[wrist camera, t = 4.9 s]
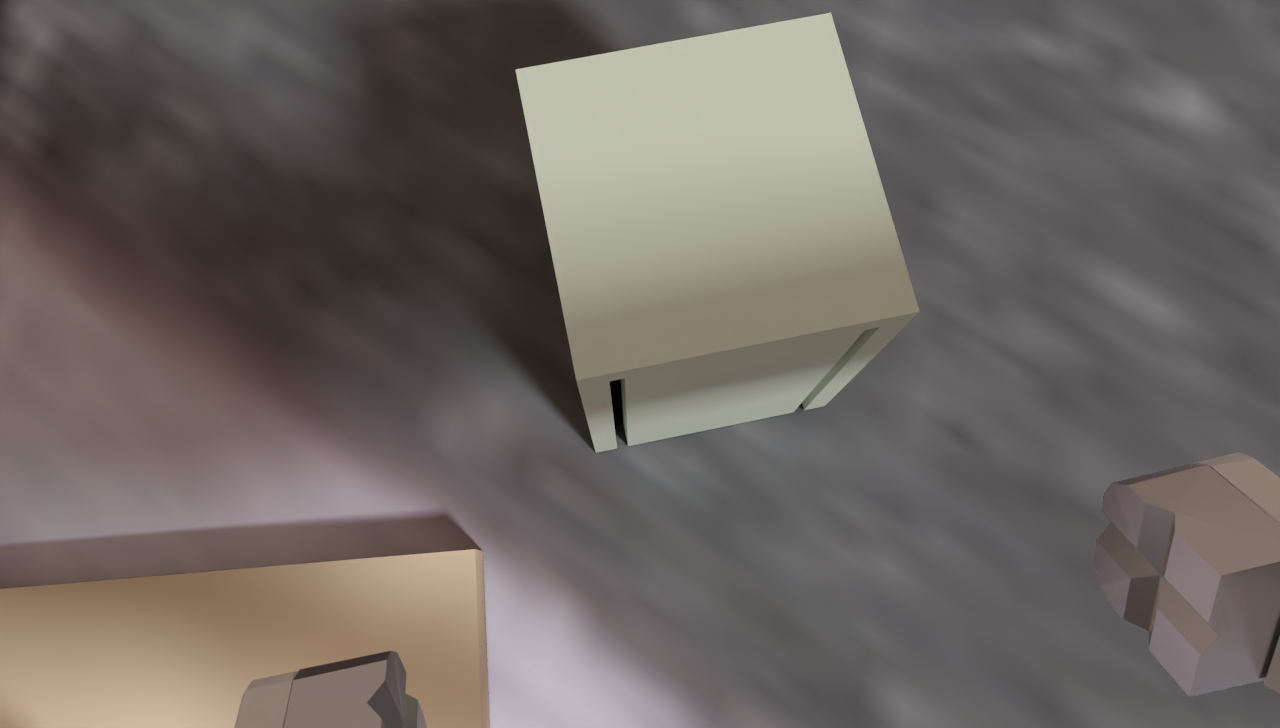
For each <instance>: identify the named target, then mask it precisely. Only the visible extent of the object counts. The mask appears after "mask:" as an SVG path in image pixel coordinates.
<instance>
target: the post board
mask: <svg viewBox="0 0 1280 728" xmlns="http://www.w3.org/2000/svg"><path fill="white" fill-rule="evenodd" d="M387 651H394V652H397V653H398V655H399V657H400V659H401V662H402V664H403V666H404V668H405V670H406V672H407V674H406V694H408V695H409V696H411V697H413V698H415V699H417V700H418V702H419V704H420V707H421V709H422V712H423V714H424V718H425V722H426V726H427V728H490V719H489V694H488V668H487V643H486V618H485V592H484V567H483V551H480V550H477V549H470V550H458V551H446V552H435V553H423V554H411V555H399V556H387V557H375V558H363V559H351V560H339V561H327V562H315V563H303V564H291V565H279V566H267V567H256V568H244V569H232V570H220V571H208V572H196V573H184V574H172V575H160V576H148V577H136V578H124V579H112V580H100V581H88V582H77V583H65V584H53V585H41V586H29V587H17V588H5V589H0V728H234V727H235V723H236V719H237V715H238V711H239V707H240V703H241V699H242V695H243V693H244V692H245V690H246V689H247V687H248V686H249V684H250V683H251V682H252V680H255V679H260V678H265V677H270V676H275V675H280V674H285V673H290V672H295V671H299V670H300V669H304V668H309V667H314V666H319V665H324V664H329V663H333V662H338V661H343V660H348V659H353V658H358V657H363V656H367V655H372V654H377V653H382V652H387Z"/></svg>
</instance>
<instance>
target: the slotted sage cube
mask: <svg viewBox="0 0 1280 728" xmlns="http://www.w3.org/2000/svg"><path fill="white" fill-rule="evenodd" d="M515 70H516V75H517V80H518V85H519V90H520V96H521V101H522V106H523V111H524V116H525V121H526V126H527V131H528V136H529V142H530V147H531V152H532V157H533V162H534V167H535V172H536V177H537V182H538V188H539V193H540V198H541V203H542V208H543V213H544V218H545V223H546V228H547V234H548V239H549V244H550V249H551V254H552V259H553V264H554V269H555V274H556V280H557V285H558V290H559V295H560V300H561V305H562V310H563V315H564V320H565V326H566V331H567V336H568V341H569V346H570V351H571V356H572V361H573V366H574V372H575V377H576V381H577V385H578V389H579V393H580V396H581V400H582V404H583V407H584V411H585V415H586V419H587V422H588V426H589V430H590V434H591V437H592V441H593V445H594V448H595V452H596V453H597V452H602V451H607V450H612V449H617V443H616V434H615V425H614V416H613V408H612V399H611V390H610V381H614V380H619V379H621V392H622V408H623V425H624V430H625V435H626V440H627V444H628V446H632V445H636V444H641V443H646V442H651V441H656V440H661V439H666V438H671V437H676V436H680V435H685V434H690V433H695V432H700V431H705V430H710V429H715V428H719V427H724V426H729V425H734V424H739V423H744V422H749V421H754V420H759V419H763V418H768V417H773V416H778V415H783V414H788V413H793V412H794V411H795V410H796V409H797V408H798V406H799V405H800V404H801V403H802V405H803V409H804V410H807V409H812V408H817V407H822V406H825V405H826V404H827V403H828V402H829V401H830V400H831V399H832V398H833V397H834V396H835V395H836V394H837V393H838V392H839V391H840V390H841V389H842V388H843V387H844V386H845V385H846V384H847V383H848V382H849V381H850V380H851V379H852V378H853V377H854V376H855V375H856V374H857V373H858V372H859V371H860V370H861V369H862V368H863V367H864V366H865V365H866V364H867V363H868V362H869V361H870V360H871V359H872V358H873V357H874V356H875V355H876V354H878V353H879V352H880V351H881V350H882V349H883V348H884V347H885V346H886V345H887V344H888V343H889V342H890V341H891V340H892V339H893V338H894V337H895V336H896V335H897V334H898V333H899V332H900V331H901V330H902V329H903V328H904V327H905V326H906V325H907V324H908V323H909V322H910V321H911V320H912V319H913V318H914V317H915V316H916V315H917V314H918V313H919V308H918V305H917V301H916V298H915V295H914V291H913V288H912V285H911V281H910V278H909V274H908V271H907V268H906V264H905V261H904V258H903V254H902V251H901V248H900V244H899V241H898V237H897V234H896V231H895V227H894V224H893V221H892V217H891V214H890V210H889V207H888V204H887V200H886V197H885V194H884V190H883V187H882V184H881V180H880V177H879V173H878V170H877V167H876V163H875V160H874V157H873V153H872V150H871V146H870V143H869V140H868V136H867V133H866V130H865V126H864V123H863V120H862V116H861V113H860V109H859V106H858V103H857V99H856V96H855V93H854V89H853V86H852V82H851V79H850V76H849V72H848V69H847V66H846V62H845V59H844V56H843V52H842V49H841V45H840V42H839V39H838V35H837V32H836V29H835V25H834V22H833V18H832V15H831V13H827V14H821V15H816V16H810V17H805V18H799V19H794V20H788V21H783V22H777V23H771V24H766V25H760V26H755V27H749V28H744V29H738V30H732V31H727V32H721V33H716V34H710V35H705V36H699V37H693V38H688V39H682V40H677V41H671V42H666V43H660V44H654V45H649V46H643V47H638V48H632V49H627V50H621V51H616V52H610V53H604V54H599V55H593V56H588V57H582V58H577V59H571V60H565V61H560V62H554V63H549V64H543V65H538V66H532V67H526V68H521V69H515Z"/></svg>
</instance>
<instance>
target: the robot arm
mask: <svg viewBox="0 0 1280 728" xmlns="http://www.w3.org/2000/svg"><path fill="white" fill-rule="evenodd" d="M1101 511H1102V512H1103V513H1104V514H1105V516H1106V517H1107V518H1108V519H1109V520H1110V521H1111V523H1110V524H1109V525H1108V526H1107V528H1106V529H1105V530H1104V531H1103V532H1102V534H1101V535H1100V536H1099V537H1098V538H1097V540H1096V546H1095V556H1094V565H1095V568H1096V572H1097V576H1098V580H1099V584H1100V586H1101V588H1102V590H1103V592H1104V594H1105V595H1106V597H1107V599H1108V601H1109V603H1110V604H1111V605H1112V606H1113V607H1114V609H1115V610H1116V611H1117V612H1118V614H1119V615H1120V616H1121V617H1122V618H1123V619H1124V620H1126V621H1128V622H1130V623H1132V624H1135V625H1137V626H1139V627H1141V628H1143V629H1145V630H1147V631H1149V650H1150V652H1151V653H1152V654H1153V655H1154V656H1155V657H1156V659H1157V660H1158V661H1159V662H1160V663H1161V664H1162V666H1163V667H1164V668H1165V669H1166V670H1167V671H1168V673H1169V674H1170V675H1171V676H1172V677H1173V678H1174V680H1175V681H1176V682H1177V683H1178V684H1179V685H1180V687H1181V688H1182V689H1183V690H1184V691H1185V692H1186V694H1187V695H1188V696H1189V697H1191V696H1195V695H1200V694H1204V693H1209V692H1213V691H1218V690H1222V689H1227V688H1231V687H1236V686H1241V685H1245V684H1250V683H1254V682H1259V681H1263V680H1265V682H1264V685H1266V686H1267V687H1269V688H1271V689H1273V690H1274V691H1276V692H1278V693H1280V478H1279V477H1278V476H1276V475H1275V474H1274V473H1272V472H1271V471H1270V470H1269V469H1267V468H1266V467H1265V466H1263V465H1262V464H1261V463H1260V462H1258V461H1257V460H1256V459H1254V458H1253V457H1250V456H1248V455H1244V454H1241V453H1234V454H1230V455H1225V456H1221V457H1217V458H1213V459H1209V460H1205V461H1201V462H1197V463H1195V464H1188V465H1184V466H1180V467H1176V468H1172V469H1168V470H1163V471H1159V472H1155V473H1151V474H1147V475H1143V476H1139V477H1135V478H1130V479H1126V480H1122V481H1118V482H1114V483H1111V485H1110V486H1109V487H1108V489H1107V490H1106V491H1105V493H1104V496H1103V502H1102V507H1101ZM406 674H407V672H406V670H405V668H404V666H403V664H402V662H401V659H400V657H399V655H398V653H397V652H394V651H387V652H382V653H377V654H372V655H367V656H363V657H358V658H353V659H348V660H343V661H338V662H333V663H329V664H324V665H319V666H314V667H309V668H304V669H300V670H299V671H295V672H290V673H285V674H280V675H275V676H270V677H265V678H260V679H255V680H252V682H251V683H250V684H249V686H248V687H247V689H246V690H245V692H244V693H243V695H242V699H241V703H240V707H239V711H238V715H237V719H236V723H235V727H234V728H427V726H426V722H425V718H424V714H423V712H422V709H421V707H420V704H419V702H418V700H417V699H415V698H413V697H411V696H409V695H408V694H406Z"/></svg>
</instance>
